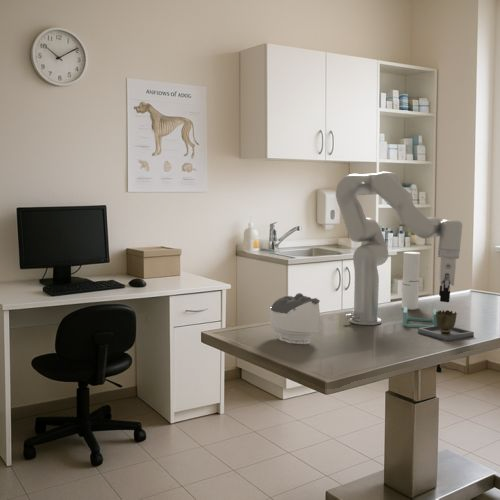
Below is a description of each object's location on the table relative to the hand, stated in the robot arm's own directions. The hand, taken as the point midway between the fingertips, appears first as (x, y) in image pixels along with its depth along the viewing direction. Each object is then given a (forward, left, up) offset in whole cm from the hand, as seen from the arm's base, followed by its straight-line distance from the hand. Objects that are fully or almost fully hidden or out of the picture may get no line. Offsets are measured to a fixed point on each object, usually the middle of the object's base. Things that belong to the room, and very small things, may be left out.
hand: (443, 298), depth 227 cm
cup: (+1, -1, -13) cm, 13 cm away
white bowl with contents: (-54, +19, -14) cm, 58 cm away
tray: (0, -1, -13) cm, 13 cm away
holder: (+4, +16, -13) cm, 21 cm away
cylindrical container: (+23, +41, -14) cm, 49 cm away
